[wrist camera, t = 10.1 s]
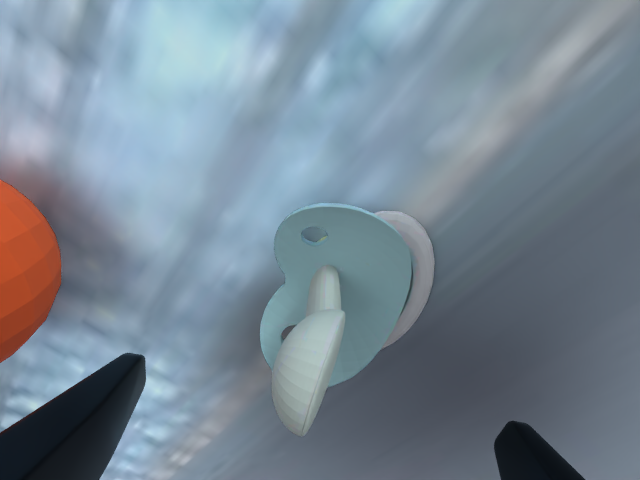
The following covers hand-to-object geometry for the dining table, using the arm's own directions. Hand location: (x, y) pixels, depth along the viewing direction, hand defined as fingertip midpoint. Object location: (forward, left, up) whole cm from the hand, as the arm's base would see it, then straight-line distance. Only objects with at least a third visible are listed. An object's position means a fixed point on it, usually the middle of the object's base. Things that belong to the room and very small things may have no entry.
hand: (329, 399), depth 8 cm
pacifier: (-1, 0, -6) cm, 6 cm away
